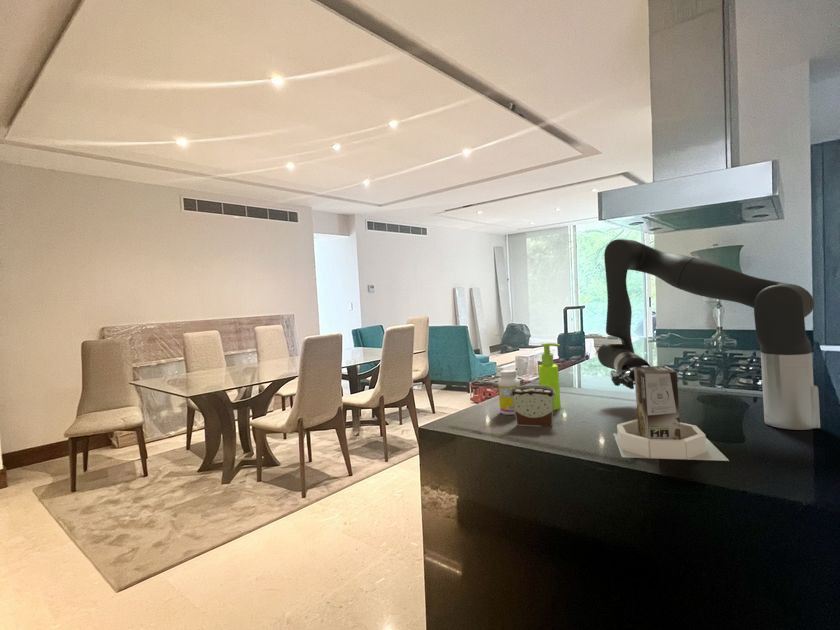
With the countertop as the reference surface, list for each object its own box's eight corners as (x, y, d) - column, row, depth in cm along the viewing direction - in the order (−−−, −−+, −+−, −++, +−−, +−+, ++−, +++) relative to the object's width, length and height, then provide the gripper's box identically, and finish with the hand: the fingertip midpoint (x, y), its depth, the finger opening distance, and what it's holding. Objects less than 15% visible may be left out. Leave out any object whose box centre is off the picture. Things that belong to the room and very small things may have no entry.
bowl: (691, 434, 100) (690, 419, 100) (714, 460, 85) (713, 442, 85) (615, 433, 105) (614, 419, 105) (624, 457, 90) (623, 440, 90)
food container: (561, 421, 120) (558, 385, 120) (558, 427, 114) (555, 389, 114) (516, 419, 125) (514, 384, 125) (511, 425, 120) (509, 389, 119)
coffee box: (683, 449, 90) (678, 372, 89) (648, 449, 91) (644, 373, 91) (668, 435, 99) (664, 365, 98) (637, 435, 100) (633, 366, 100)
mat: (703, 436, 99) (703, 435, 99) (729, 462, 84) (729, 460, 84) (613, 435, 105) (613, 433, 105) (622, 458, 90) (622, 457, 90)
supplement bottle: (508, 408, 137) (505, 368, 137) (526, 411, 133) (523, 369, 132) (495, 413, 133) (492, 371, 132) (514, 416, 128) (510, 373, 128)
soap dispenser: (561, 410, 130) (556, 344, 130) (538, 409, 134) (534, 344, 134) (566, 406, 135) (561, 342, 135) (544, 404, 139) (539, 342, 138)
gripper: (602, 357, 122) (618, 371, 106) (657, 351, 119) (681, 365, 103) (605, 383, 122) (621, 401, 107) (660, 378, 120) (684, 395, 104)
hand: (651, 383), depth 105 cm, fingers open, 8 cm apart
